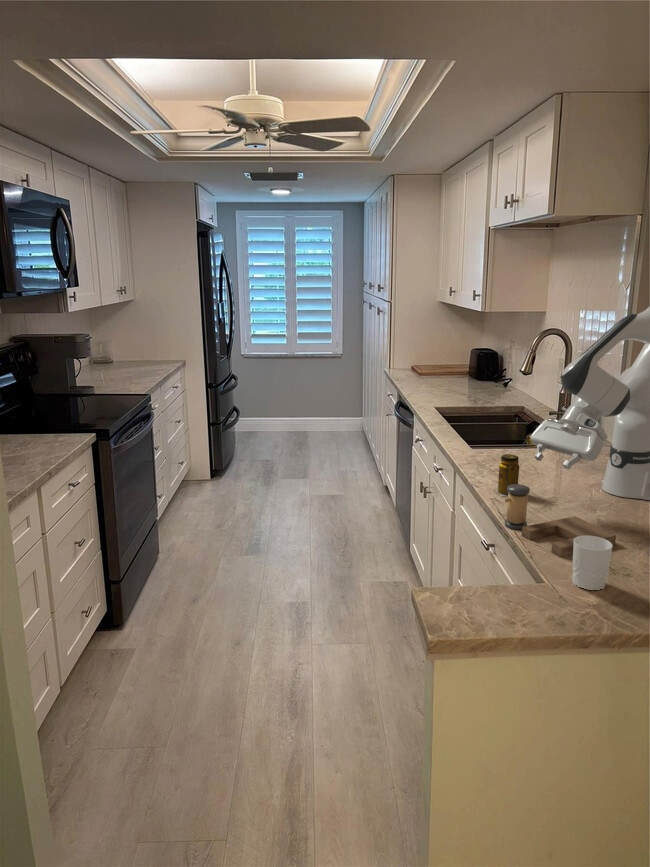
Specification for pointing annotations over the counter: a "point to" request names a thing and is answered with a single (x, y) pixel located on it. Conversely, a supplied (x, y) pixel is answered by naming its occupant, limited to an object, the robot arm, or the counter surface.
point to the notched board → (566, 533)
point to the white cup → (591, 562)
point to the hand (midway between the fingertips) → (551, 463)
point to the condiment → (507, 473)
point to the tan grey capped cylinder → (516, 506)
